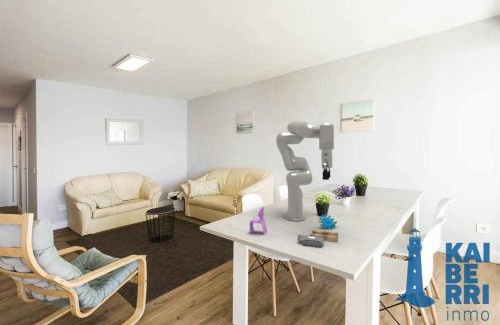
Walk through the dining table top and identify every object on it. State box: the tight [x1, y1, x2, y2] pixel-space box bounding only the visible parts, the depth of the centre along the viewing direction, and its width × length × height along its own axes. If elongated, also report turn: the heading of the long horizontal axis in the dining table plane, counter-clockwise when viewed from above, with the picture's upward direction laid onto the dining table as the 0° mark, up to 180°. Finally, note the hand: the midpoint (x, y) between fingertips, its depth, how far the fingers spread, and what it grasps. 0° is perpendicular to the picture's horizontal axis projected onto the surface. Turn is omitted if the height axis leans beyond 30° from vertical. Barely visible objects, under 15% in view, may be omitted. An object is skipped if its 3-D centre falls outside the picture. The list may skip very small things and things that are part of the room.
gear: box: [318, 214, 338, 231], centre depth 147 cm, size 11×6×10 cm
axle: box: [297, 234, 324, 245], centre depth 122 cm, size 12×3×3 cm, turn 68°
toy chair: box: [249, 206, 269, 236], centre depth 140 cm, size 8×9×15 cm
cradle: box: [301, 240, 324, 249], centre depth 121 cm, size 9×7×3 cm
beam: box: [309, 229, 339, 243], centre depth 129 cm, size 13×8×3 cm, turn 68°
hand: (326, 178), depth 135 cm, fingers open, 9 cm apart
